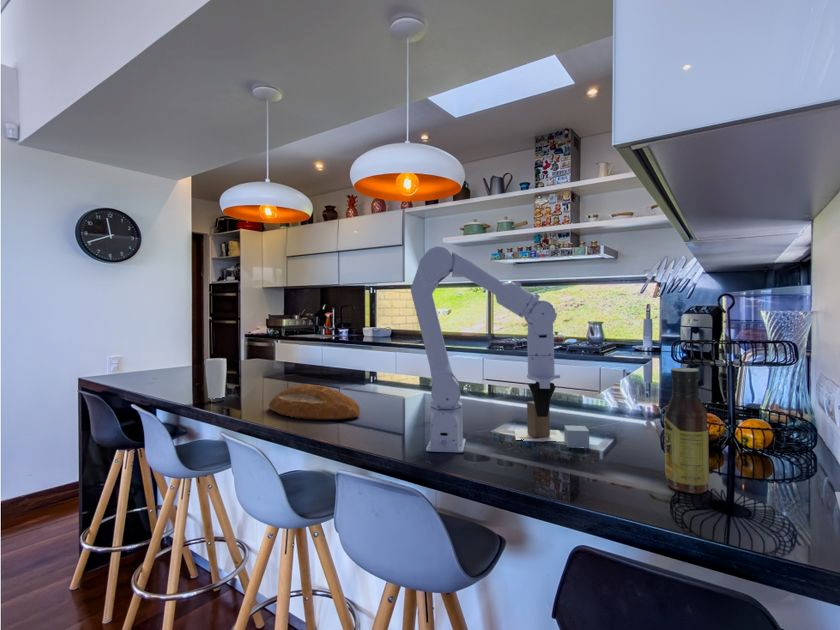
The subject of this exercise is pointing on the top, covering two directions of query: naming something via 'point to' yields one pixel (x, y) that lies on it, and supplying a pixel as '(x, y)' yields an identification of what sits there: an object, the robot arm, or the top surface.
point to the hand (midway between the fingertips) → (542, 416)
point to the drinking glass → (216, 377)
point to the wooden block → (537, 422)
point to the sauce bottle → (686, 435)
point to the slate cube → (576, 436)
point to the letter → (523, 434)
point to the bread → (314, 403)
